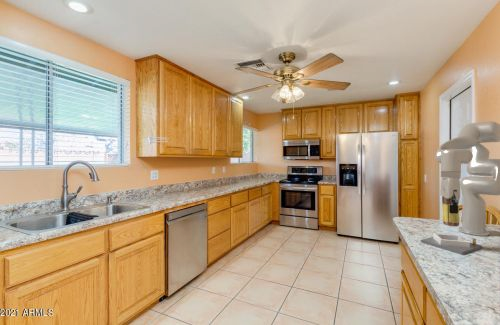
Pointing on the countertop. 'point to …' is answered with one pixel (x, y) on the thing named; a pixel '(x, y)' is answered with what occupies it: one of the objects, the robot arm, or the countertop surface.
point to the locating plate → (451, 248)
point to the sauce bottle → (448, 217)
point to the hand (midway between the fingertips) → (450, 211)
